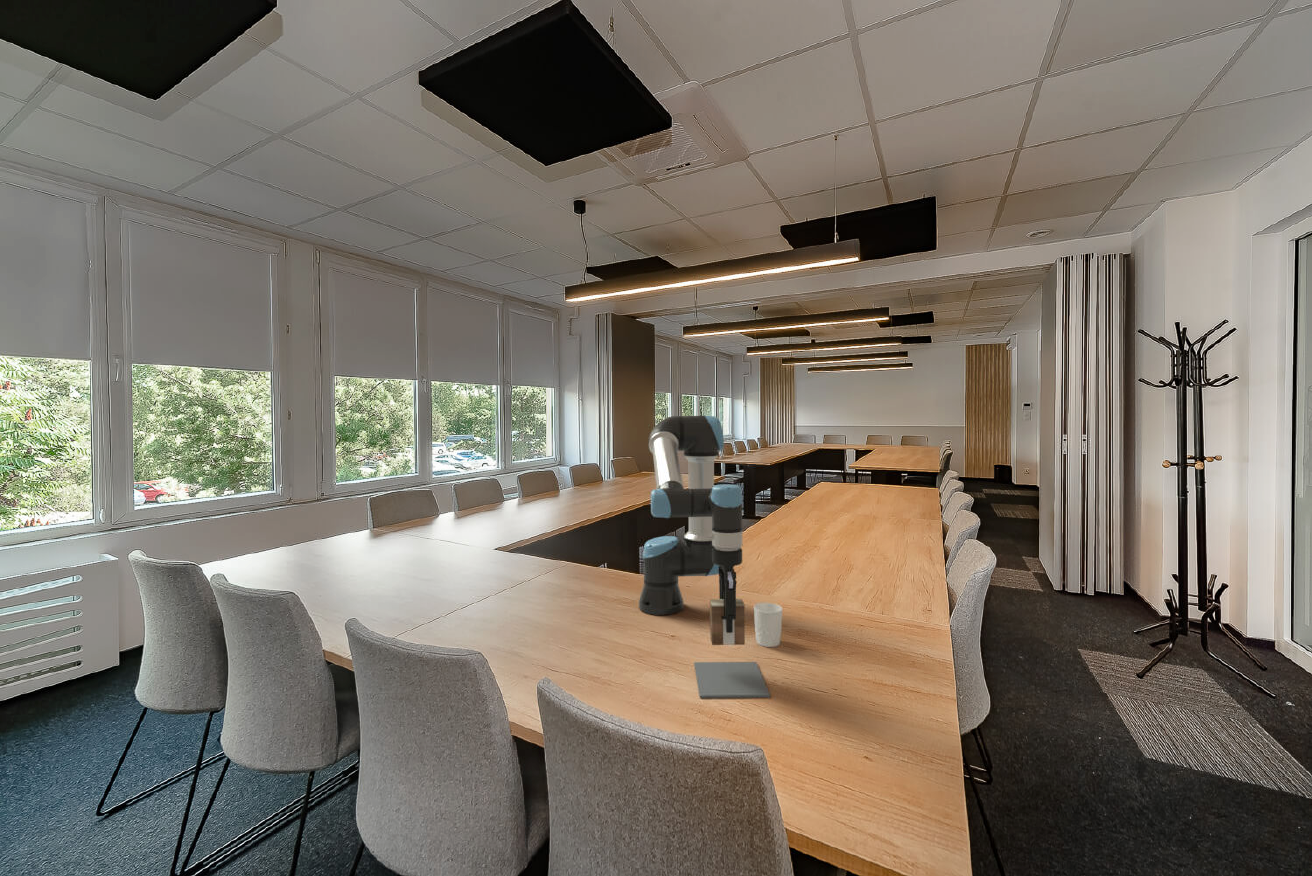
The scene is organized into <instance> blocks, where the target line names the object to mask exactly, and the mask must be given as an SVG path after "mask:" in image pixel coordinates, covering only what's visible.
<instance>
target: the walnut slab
mask: <svg viewBox="0 0 1312 876" xmlns="http://www.w3.org/2000/svg"><path fill="white" fill-rule="evenodd" d="M709 600H710V601H709V606H710V609H709V610H710V612H709V613H710V615H709V622H710V625H709V626H710V628H709V632H710V633H709V634H710V642H711V645H712V646H724V645H723V619H721V616H724V600H723V599H719V598H715V599H713V598H710V599H709ZM745 605H746V604H745V603H744V600H743V599H742V598H736V619H734V640H735V645H734V646H737V645H739V646H742V645H743V646H744V645H746V643H745V635H746V634H745V632H746V631H745V627H746V626H745V625H746V624H745V623H746V622H745V621H746V620H745V618H746V617H745V616H746V614H745Z"/></svg>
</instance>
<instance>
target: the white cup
mask: <svg viewBox="0 0 1312 876" xmlns="http://www.w3.org/2000/svg"><path fill="white" fill-rule="evenodd" d="M753 615H754V616H753V617H754V618H753V619H754V621H753V623H754V630H755V631H754V632H755V642H756V643H757V645H759V646H762V647H764V648H775V647H778V646H780V644H781V637H782V636H781V635H782V623H783V622H782V621H783V607H782V606H781V605H779V604H777V603H774V602H759V603H756V604H754V606H753Z"/></svg>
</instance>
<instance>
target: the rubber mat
mask: <svg viewBox="0 0 1312 876" xmlns="http://www.w3.org/2000/svg"><path fill="white" fill-rule="evenodd" d="M693 664H694V670H695V676H696V677H695V678H696V683H697V684H696V685H697V690H698V695H699V699H736V698H737V699H740V698H741V699H742V698H744V699H746V698H747V699H749V698H753V699H755V698H757V699H758V698H762V699H763V698H765V699H767V698H768V699H769V698H771V694H770V692H769V690H768V686H767V685H766V682H765V680H764V677H763V675H762V673H761V669H760V668H759V665H758V664H757V661H701V662H700V661H697V662H695V661H694V662H693Z"/></svg>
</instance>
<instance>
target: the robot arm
mask: <svg viewBox="0 0 1312 876" xmlns="http://www.w3.org/2000/svg"><path fill="white" fill-rule="evenodd" d="M724 442H725V439H724V432H723V427H722V424H721V421H720V418H718V417H717V416H715V415H705V414H704V415H673V416H669V417H665V418H664V419H662V420H660V421H659V422H658V423H657V424H656V425H655V426H654V427H653V428H652V430H651V432H650V434H649V437H648V449H649V451H650V453H651V454H652V458H653V466H654V467H653V469H654V476H655V485H656V489H653V490H651V492H650V513H651V515H652V516H653V518H665V519H670V518H671V519H674V518H675V519H676V518H688V531H687V532H686V533H685V534H684V536H683V540H682V541H681V540H680V541H679V539H678V537H677V536H673V535H671V536H670V535H663V536H659V537H658V536H657V537H654V538H651V539H648V540H647V541H646V542H645V543H644V546H643V554H642V557H643V586H642V590H641V592H640V596H639V598H638V609H639V610H640V611H641V612H643V613H645V614H649V615H655V616H667V615H672V614H677V613H679V612H681V611H683V610H684V598H683V595H682V592H681V589H680V586H679V577H709V576H710V577H711V576H717V575H718V583H719V585H718V588H719V591H718V592H719V596H718V597H719V598H718V599H723V600H724V616H721V619H723V645H722V646H732V645H733V646H736V645H735V640H734V619H736V599H737V596H736V595H737V593H736V592H737V571H735V568H734V567H736V566H740V565H741V564H742V563H743V549H742V547H743V501H744V499H743V494H742V493H743V491H742V490H743V489H742V487H741V486H740V485H738V484H730V483H729V484H725V483H723V484H716V485H715V460H716V459H718V457H719V451H720V452H721V451H723V450H724V447H725V446H724V444H725V443H724ZM678 452H683V457H684V458H685V459H686V460H687V463H688V466H687V467H688V488H684V481H683V476H682V472H681V471H682V469H681V467H680V461H679V455H678Z"/></svg>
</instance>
